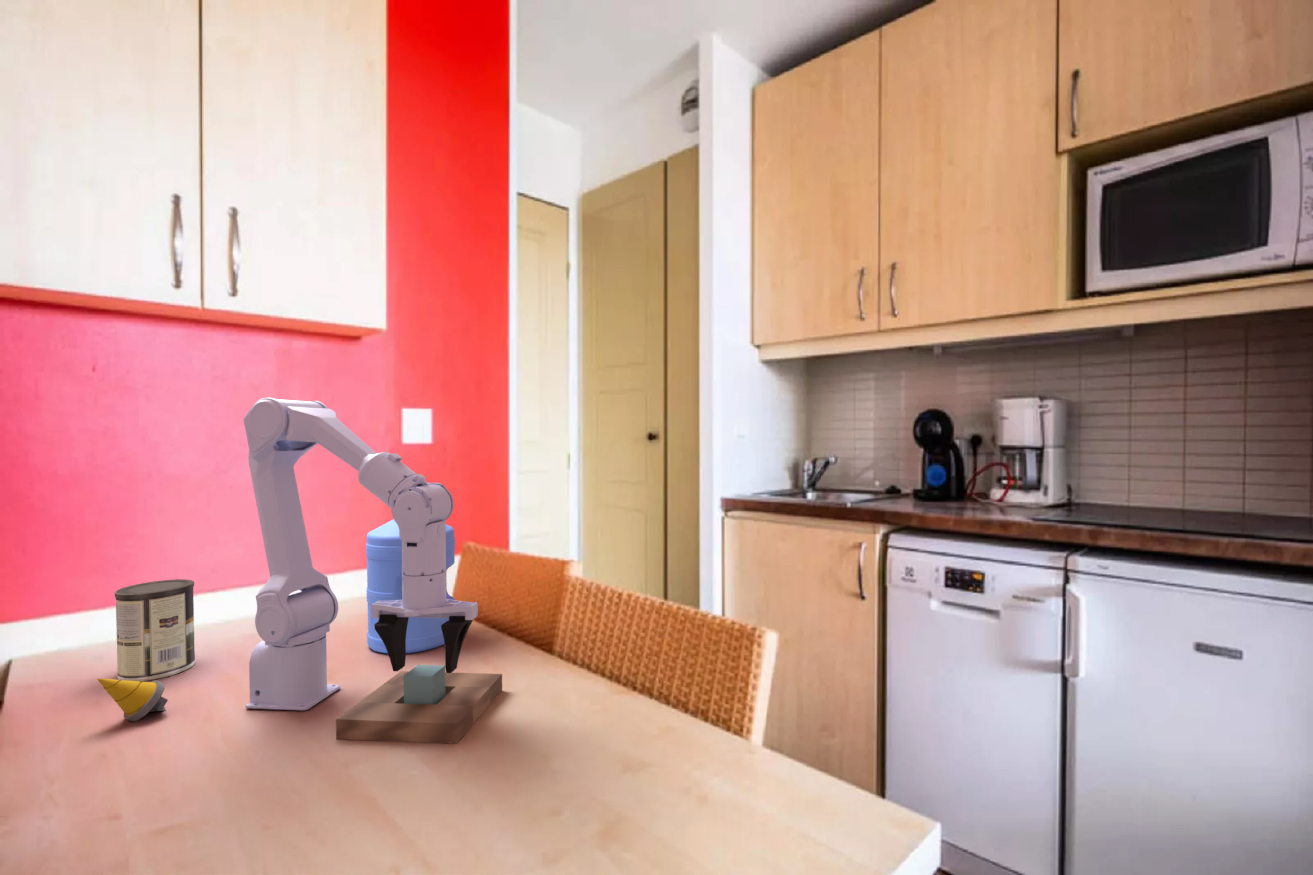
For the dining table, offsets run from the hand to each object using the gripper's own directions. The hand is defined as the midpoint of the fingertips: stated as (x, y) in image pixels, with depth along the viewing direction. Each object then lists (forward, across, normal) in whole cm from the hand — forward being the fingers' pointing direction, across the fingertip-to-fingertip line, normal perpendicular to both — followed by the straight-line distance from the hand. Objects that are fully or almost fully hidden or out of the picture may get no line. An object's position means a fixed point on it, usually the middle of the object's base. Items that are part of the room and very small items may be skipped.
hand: (425, 669), depth 85 cm
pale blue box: (+6, 0, 0) cm, 6 cm away
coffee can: (+6, -53, +12) cm, 55 cm away
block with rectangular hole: (+6, 0, 0) cm, 6 cm away
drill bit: (+6, -39, -5) cm, 40 cm away
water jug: (+6, -17, +29) cm, 34 cm away
